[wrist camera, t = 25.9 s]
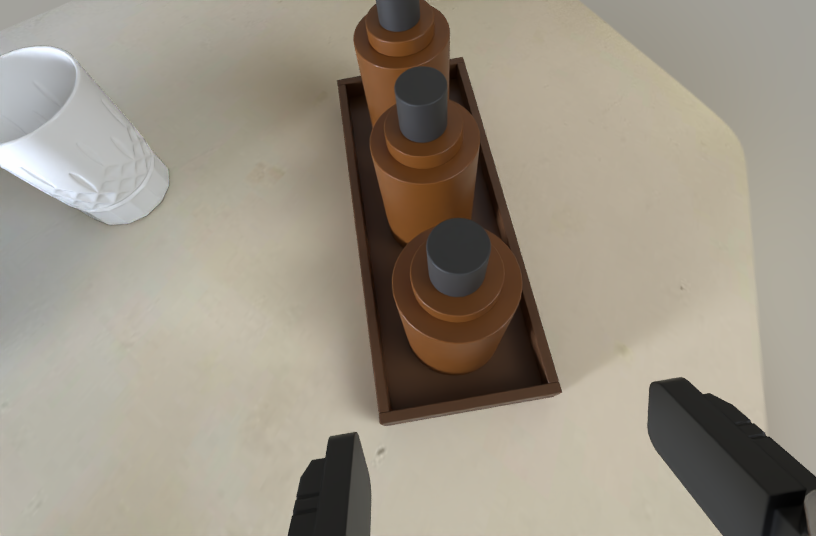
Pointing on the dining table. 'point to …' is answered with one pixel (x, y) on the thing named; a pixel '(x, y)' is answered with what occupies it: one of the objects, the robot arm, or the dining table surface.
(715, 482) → the robot arm
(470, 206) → the bottle mid
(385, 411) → the tray
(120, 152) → the white cup
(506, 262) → the bottle
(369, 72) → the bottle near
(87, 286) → the dining table surface
